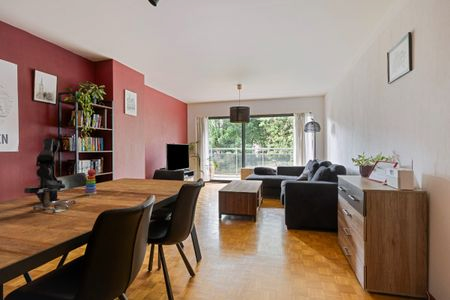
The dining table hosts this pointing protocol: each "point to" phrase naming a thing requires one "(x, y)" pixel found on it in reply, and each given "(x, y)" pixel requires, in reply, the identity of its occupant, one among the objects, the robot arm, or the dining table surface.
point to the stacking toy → (90, 183)
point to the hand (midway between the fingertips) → (45, 203)
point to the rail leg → (58, 203)
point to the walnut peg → (46, 199)
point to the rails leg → (52, 208)
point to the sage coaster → (60, 210)
